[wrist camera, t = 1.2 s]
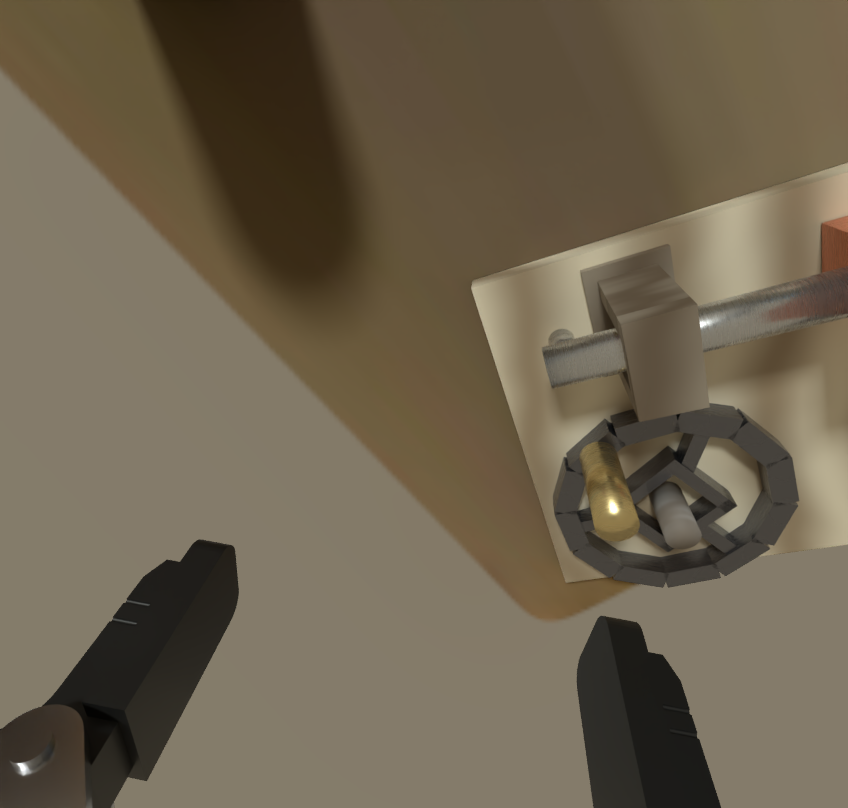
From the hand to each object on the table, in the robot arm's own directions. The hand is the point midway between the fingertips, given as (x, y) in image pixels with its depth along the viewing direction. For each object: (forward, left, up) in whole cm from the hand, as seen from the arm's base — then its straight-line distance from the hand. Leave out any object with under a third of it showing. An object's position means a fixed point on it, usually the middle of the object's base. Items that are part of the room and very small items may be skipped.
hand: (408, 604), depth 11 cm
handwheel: (-8, +16, -21) cm, 28 cm away
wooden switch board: (-15, +11, -22) cm, 29 cm away
